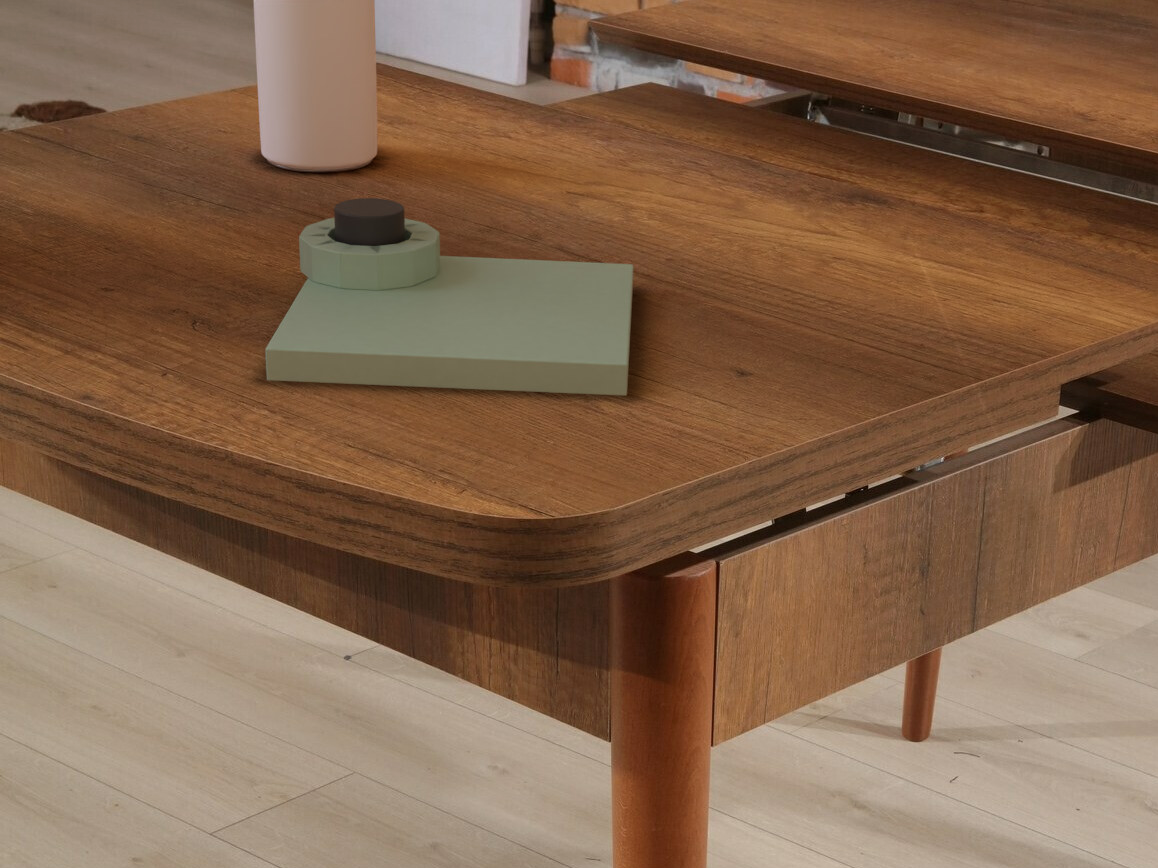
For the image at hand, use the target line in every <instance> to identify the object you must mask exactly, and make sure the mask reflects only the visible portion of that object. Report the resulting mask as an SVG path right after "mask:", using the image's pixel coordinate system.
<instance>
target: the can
mask: <svg viewBox="0 0 1158 868" xmlns="http://www.w3.org/2000/svg"><path fill="white" fill-rule="evenodd" d="M375 5H376V1H375V0H253V18H254V19H253V22H254V39H255V40H254V41H255V43H254V44H255V62H256V81H257V82H256V83H257V100H258V101H257V102H258V119H259V137H260V138H259V139H260V152H261V155H262V156H263V158H265V159H266V161H267V163H268V164H270V165H272V166H273V167H276V168H278V169H282V170H287V171H291V172H300V173H315V174H316V173H317V174H318V173H321V174H322V173H341V172H348V171H353V170H354V171H355V170H359V169H362V168H364V167H367V166H369V164H371V163H372V162H373V159H374V158H375V157H376V156H377V155H378V98H377V97H378V94H377V93H378V92H377V89H378V87H377V48H376V47H377V45H376V42H377V41H376V40H377V39H376V7H375Z"/></svg>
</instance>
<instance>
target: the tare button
mask: <svg viewBox="0 0 1158 868" xmlns="http://www.w3.org/2000/svg"><path fill="white" fill-rule="evenodd" d="M333 213H334V214H333V215H334V216H333V218H334V220H335V241H336V242H340V243H344V244H349V245H359V246H381V245H390V244H398V243H401V242H403V241H405V217H406V216H405V215H406V214H405V207H404V205H403V204H401V203H399V202H398V201H395V200H390V199H386V198H375V197H374V198H373V197H372V198H371V197H366V198H364V197H363V198H362V197H361V198H353V199H348V200H344V201H341V202H339V203H337V204H335V206H334V207H333Z"/></svg>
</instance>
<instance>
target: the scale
mask: <svg viewBox="0 0 1158 868" xmlns="http://www.w3.org/2000/svg"><path fill="white" fill-rule="evenodd" d="M298 245H299V247H298V248H299V269H300V270H299V271H300V272H301V273H302V274H303V275H304V276H305V277H307V278H306V280H305V282H304V284H303V285H302V287H301V288H300V291H299V292H298V293H297V296H296V297H295V299H294V300H293V302H292V304H291V305H290V307H289V309H288V310H287V312H286V314H285V315H284V317H283V318H282V320H281V322H280V324H279V325H278V327H277V329H276V330H275V332H274V334H273V336H272V337H271V338H270V340H269V342H268V344H267V345H266V347H265V351H264V352H265V370H266V380H267V381H277V382H299V383H321V384H323V383H325V384H347V385H366V386H367V385H369V386H371V385H372V386H392V387H393V386H395V387H413V388H415V387H418V388H420V387H421V388H437V389H440V388H441V389H442V388H443V389H464V390H487V391H507V392H509V391H510V392H511V391H512V392H535V393H557V394H580V395H603V396H605V395H606V396H625V397H626V396H627V395H628V385H629V384H628V381H629V365H630V363H629V362H630V345H631V327H632V312H633V311H632V310H633V309H632V308H633V290H634V267H635V266H634V264H632V263H612V262H588V261H568V260H566V261H564V260H547V259H546V260H544V259H523V258H501V257H499V258H498V257H497V258H495V257H476V256H456V255H455V256H452V255H441V233H440V232H439V230H437V229H435V228H434V227H433V226H431V225H430V224H428V223H426V222H423V221H419V220H414V219H410V218H405V241H403V242H401V243H398V244H390V245H381V246H359V245H349V244H344V243H340V242H336V241H335V220H334V217H330V218H325V219H323V220H320V221H317V222H314V223H311V224H307V225H306V226H304V228H303V230H302V231H301V233H300V234H299V236H298Z"/></svg>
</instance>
